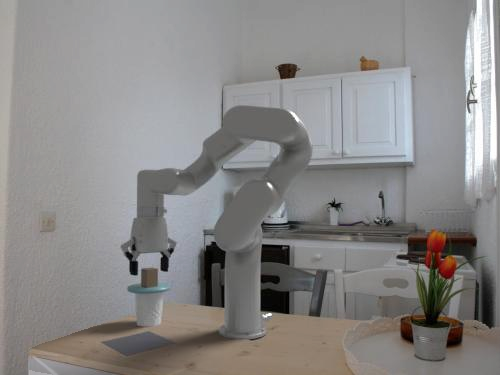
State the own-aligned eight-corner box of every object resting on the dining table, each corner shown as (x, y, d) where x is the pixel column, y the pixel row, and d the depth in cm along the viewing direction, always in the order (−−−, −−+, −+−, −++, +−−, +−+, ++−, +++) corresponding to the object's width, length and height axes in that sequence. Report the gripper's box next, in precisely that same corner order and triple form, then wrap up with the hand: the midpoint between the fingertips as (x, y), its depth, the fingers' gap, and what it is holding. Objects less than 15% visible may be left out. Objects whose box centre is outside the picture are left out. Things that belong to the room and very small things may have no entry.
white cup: (156, 329, 114) (156, 292, 114) (129, 327, 115) (129, 291, 116) (167, 321, 121) (167, 287, 122) (142, 320, 123) (142, 286, 124)
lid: (157, 283, 127) (157, 264, 128) (178, 289, 119) (179, 268, 119) (119, 288, 119) (120, 268, 119) (140, 295, 110) (140, 273, 111)
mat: (148, 333, 111) (148, 331, 111) (176, 344, 101) (176, 342, 101) (101, 344, 102) (101, 341, 102) (126, 358, 92) (126, 355, 92)
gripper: (168, 212, 129) (168, 268, 128) (115, 213, 117) (114, 274, 116) (182, 212, 123) (182, 271, 122) (128, 213, 111) (127, 278, 110)
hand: (149, 273), depth 119 cm, fingers open, 9 cm apart
